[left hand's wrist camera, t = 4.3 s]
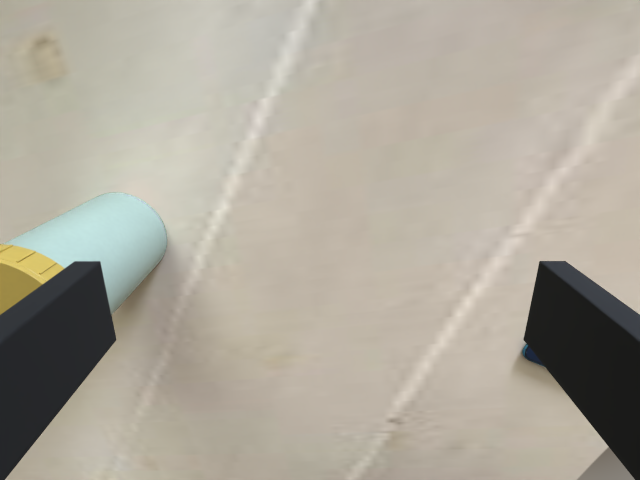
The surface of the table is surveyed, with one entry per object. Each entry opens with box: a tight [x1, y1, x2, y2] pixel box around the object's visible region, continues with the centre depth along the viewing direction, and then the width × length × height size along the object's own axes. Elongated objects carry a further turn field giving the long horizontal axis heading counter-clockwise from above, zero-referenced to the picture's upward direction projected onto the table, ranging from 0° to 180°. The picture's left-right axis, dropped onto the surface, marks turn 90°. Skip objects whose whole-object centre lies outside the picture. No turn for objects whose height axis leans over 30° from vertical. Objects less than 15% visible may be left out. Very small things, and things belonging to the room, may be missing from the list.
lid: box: [0, 244, 65, 315], centre depth 26 cm, size 10×10×2 cm
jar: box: [4, 193, 167, 315], centre depth 34 cm, size 9×9×17 cm
